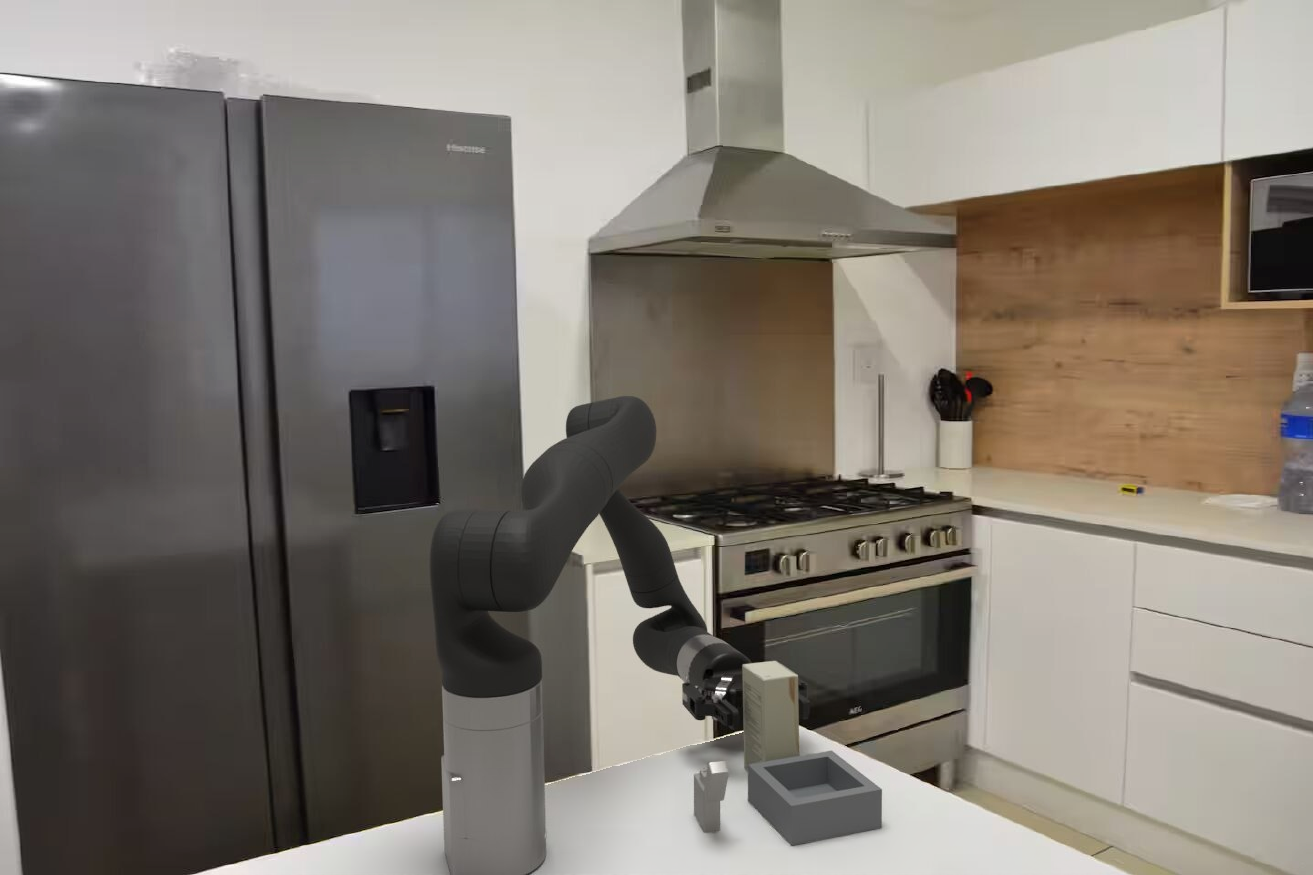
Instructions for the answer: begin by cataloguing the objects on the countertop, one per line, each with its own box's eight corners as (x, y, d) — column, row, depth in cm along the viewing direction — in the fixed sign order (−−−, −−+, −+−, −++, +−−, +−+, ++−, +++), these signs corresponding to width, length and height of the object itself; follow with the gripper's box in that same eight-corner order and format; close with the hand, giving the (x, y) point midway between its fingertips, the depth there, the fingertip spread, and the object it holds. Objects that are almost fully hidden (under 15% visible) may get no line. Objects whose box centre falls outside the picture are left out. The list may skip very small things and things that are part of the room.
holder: (791, 845, 95) (791, 805, 94) (748, 800, 104) (747, 764, 104) (881, 827, 98) (881, 789, 98) (831, 785, 107) (831, 750, 107)
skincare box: (801, 784, 108) (801, 676, 107) (764, 790, 107) (764, 680, 105) (776, 761, 114) (776, 658, 113) (741, 766, 113) (741, 662, 112)
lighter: (693, 813, 102) (693, 738, 101) (709, 811, 102) (709, 737, 101) (711, 847, 95) (711, 767, 94) (729, 845, 95) (729, 765, 94)
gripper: (661, 648, 122) (712, 691, 107) (766, 636, 127) (828, 675, 111) (662, 707, 123) (712, 758, 107) (766, 692, 127) (828, 739, 112)
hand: (771, 715), depth 109 cm, fingers open, 8 cm apart
